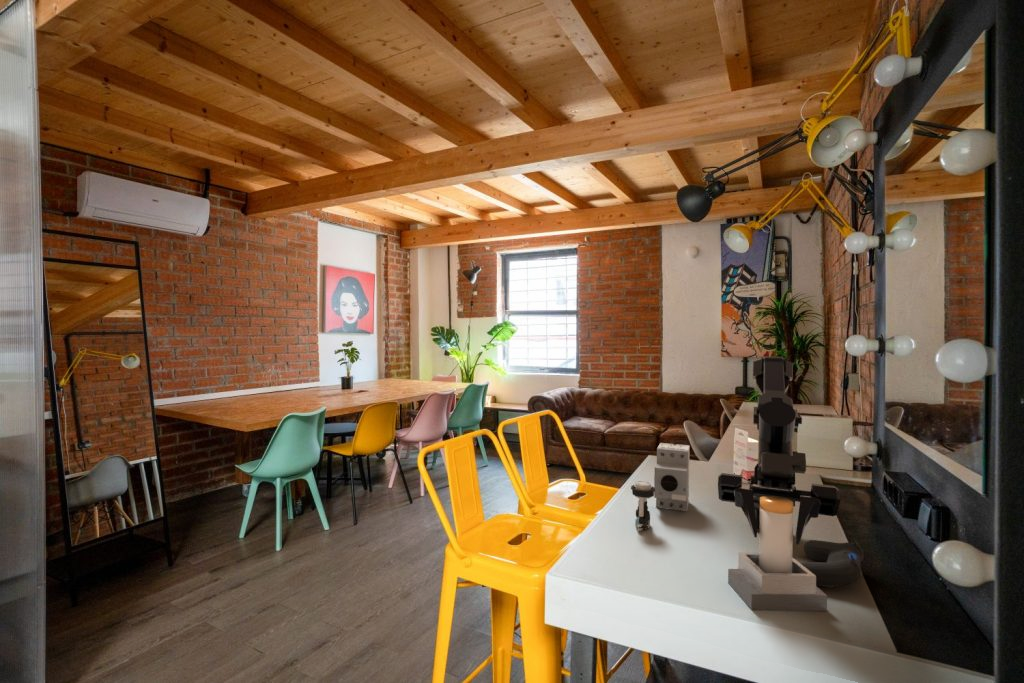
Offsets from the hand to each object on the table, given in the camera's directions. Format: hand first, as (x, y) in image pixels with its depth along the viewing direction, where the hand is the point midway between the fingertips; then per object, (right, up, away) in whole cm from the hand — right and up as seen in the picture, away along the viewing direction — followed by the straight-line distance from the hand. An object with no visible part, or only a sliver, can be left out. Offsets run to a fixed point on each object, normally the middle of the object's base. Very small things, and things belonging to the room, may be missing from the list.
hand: (776, 539), depth 85 cm
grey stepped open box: (0, -10, +1) cm, 10 cm away
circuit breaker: (-3, -10, +45) cm, 47 cm away
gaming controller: (+15, -11, +9) cm, 20 cm away
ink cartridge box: (+30, -10, +76) cm, 82 cm away
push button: (-14, -10, +31) cm, 36 cm away
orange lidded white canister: (+1, -7, +1) cm, 8 cm away
